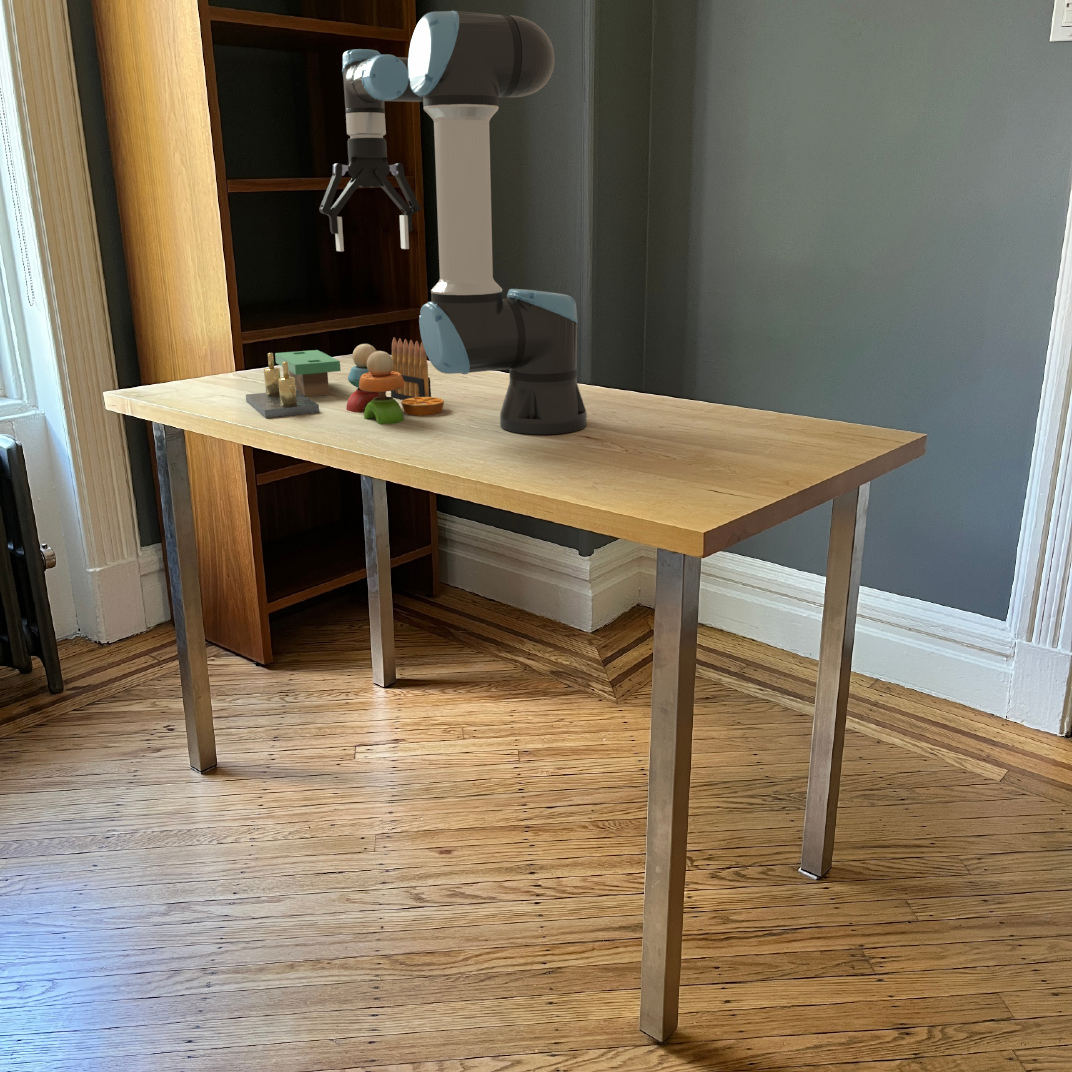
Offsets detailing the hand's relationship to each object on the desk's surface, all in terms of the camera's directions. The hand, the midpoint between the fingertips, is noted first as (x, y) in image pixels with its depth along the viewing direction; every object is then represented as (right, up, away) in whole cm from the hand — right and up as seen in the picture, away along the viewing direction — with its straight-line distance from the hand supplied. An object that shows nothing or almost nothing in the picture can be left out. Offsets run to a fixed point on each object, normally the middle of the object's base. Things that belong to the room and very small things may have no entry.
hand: (373, 250), depth 211 cm
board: (-14, -23, +4) cm, 27 cm away
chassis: (-16, -33, -11) cm, 38 cm away
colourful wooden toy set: (+6, -35, -15) cm, 38 cm away
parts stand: (-14, -28, +5) cm, 31 cm away
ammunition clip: (+8, -31, -6) cm, 33 cm away
